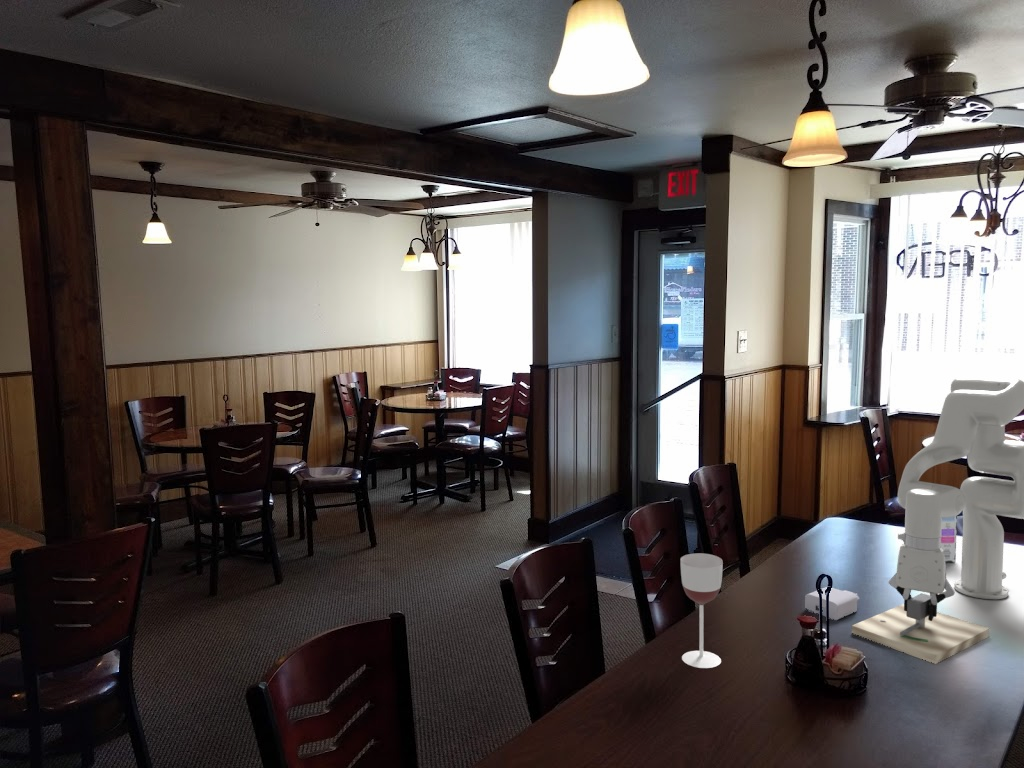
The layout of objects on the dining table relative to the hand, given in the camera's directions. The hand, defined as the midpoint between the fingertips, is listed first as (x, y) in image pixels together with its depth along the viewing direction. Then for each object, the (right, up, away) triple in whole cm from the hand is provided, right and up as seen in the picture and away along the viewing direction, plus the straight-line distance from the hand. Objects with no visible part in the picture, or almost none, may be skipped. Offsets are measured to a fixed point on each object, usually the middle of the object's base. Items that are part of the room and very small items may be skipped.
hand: (920, 615), depth 183 cm
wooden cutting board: (0, -5, +1) cm, 5 cm away
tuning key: (-2, -3, -1) cm, 4 cm away
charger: (-12, -4, +18) cm, 22 cm away
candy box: (+35, +1, +57) cm, 67 cm away
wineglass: (-54, -7, -9) cm, 56 cm away
